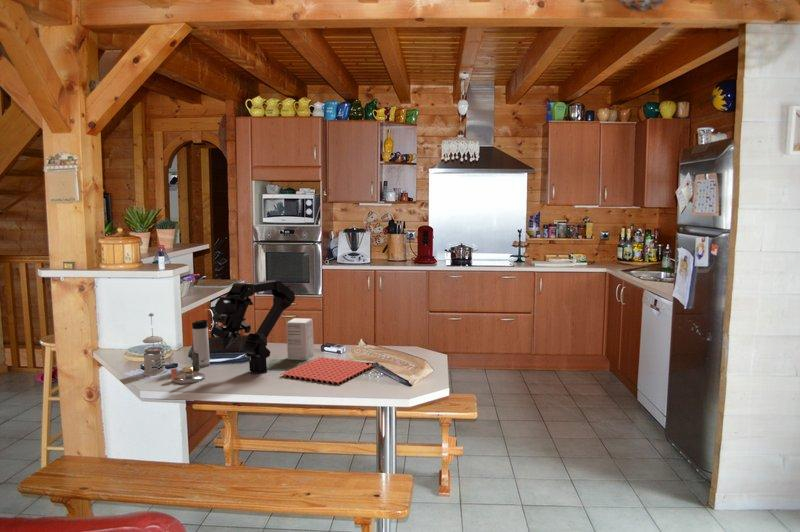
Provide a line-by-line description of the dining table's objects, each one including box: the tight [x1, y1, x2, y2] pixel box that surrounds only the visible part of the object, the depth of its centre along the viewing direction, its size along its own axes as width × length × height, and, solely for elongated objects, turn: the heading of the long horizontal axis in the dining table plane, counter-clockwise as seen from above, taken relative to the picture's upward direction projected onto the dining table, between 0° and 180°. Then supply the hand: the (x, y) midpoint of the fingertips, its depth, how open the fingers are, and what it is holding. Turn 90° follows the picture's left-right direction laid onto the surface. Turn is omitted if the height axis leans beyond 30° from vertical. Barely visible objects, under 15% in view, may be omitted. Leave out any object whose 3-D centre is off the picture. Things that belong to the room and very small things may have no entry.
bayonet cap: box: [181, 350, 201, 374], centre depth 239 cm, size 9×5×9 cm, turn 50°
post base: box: [170, 367, 206, 385], centre depth 241 cm, size 12×12×5 cm
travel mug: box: [191, 319, 211, 368], centre depth 260 cm, size 6×7×20 cm
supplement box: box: [285, 317, 315, 361], centre depth 271 cm, size 10×9×17 cm
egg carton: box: [279, 356, 372, 387], centre depth 247 cm, size 28×28×2 cm
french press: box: [142, 312, 168, 377], centre depth 252 cm, size 10×12×25 cm
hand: (224, 348), depth 244 cm, fingers closed
